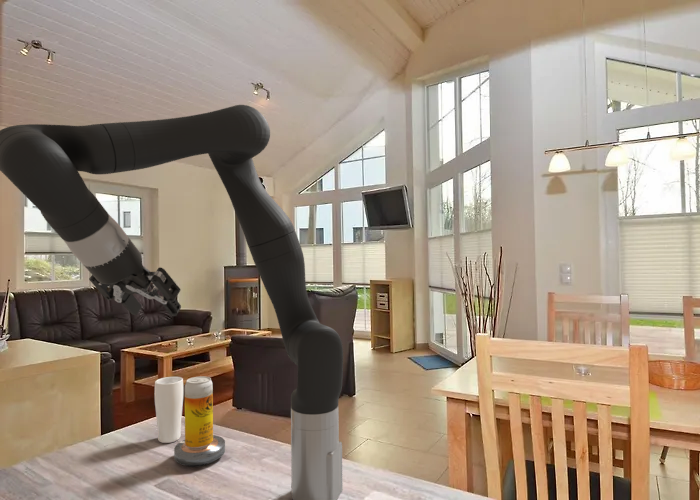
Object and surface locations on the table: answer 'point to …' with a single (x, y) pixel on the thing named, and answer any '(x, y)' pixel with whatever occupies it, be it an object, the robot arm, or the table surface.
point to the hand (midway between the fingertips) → (156, 311)
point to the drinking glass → (169, 408)
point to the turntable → (199, 452)
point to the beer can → (198, 412)
